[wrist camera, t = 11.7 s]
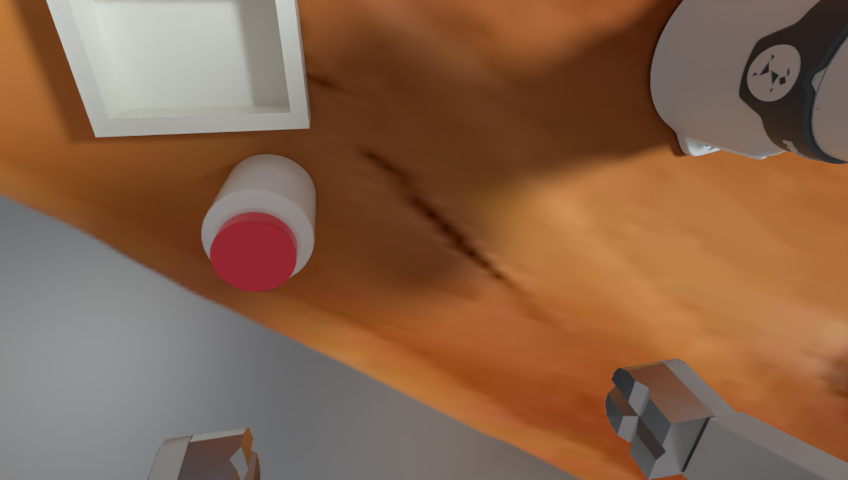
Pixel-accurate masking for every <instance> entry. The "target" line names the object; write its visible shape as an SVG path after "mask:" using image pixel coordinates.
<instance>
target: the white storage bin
mask: <svg viewBox="0 0 848 480" xmlns="http://www.w3.org/2000/svg"><path fill="white" fill-rule="evenodd" d="M46 1H47V4H48V7H49V10H50V12H51V15H52V18H53V21H54V23H55V26H56V29H57V32H58V34H59V37H60V40H61V43H62V46H63V48H64V51H65V54H66V57H67V59H68V62H69V65H70V68H71V70H72V73H73V76H74V79H75V82H76V84H77V87H78V90H79V93H80V95H81V98H82V101H83V104H84V106H85V109H86V112H87V115H88V118H89V120H90V123H91V126H92V129H93V131H94V134H95V137H116V136H140V135H165V134H189V133H213V132H237V131H261V130H286V129H310V122H311V111H310V103H309V94H308V86H307V77H306V69H305V60H304V51H303V43H302V34H301V26H300V17H299V9H298V0H46Z"/></svg>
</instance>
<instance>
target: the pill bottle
mask: <svg viewBox="0 0 848 480" xmlns="http://www.w3.org/2000/svg"><path fill="white" fill-rule="evenodd" d="M315 220H316V190H315V186H314V183H313V181H312V179H311V178H310V176H309V174H308V173H307V172H306V171H305V170H304V169H303V168H302V167H301V166H300V165H299V164H297V163H296V162H294V161H292V160H290V159H289V158H286V157H283V156H280V155H274V154H259V155H255V156H251V157H249V158H246V159H244V160H242V161H241V162H240V163H238V164H237V165H236V166H235V167H234V168H233V169H232V170H231V172H230V173H229V175H228V177H227V179H226V180H225V182H224V184H223V186H222V187H221V189H220V191H219V193H218V194H217V196H216V198H215V200H214V201H213V203H212V205H211V207H210V208H209V210H208V212H207V214H206V216H205V218H204V220H203V224H202V228H201V240H202V244H203V248H204V250H205V252H206V254H207V256H208V258H209V259H210V260H211V264H212V266H213V268H214V270H215V272H216V273H217V275H218V276H219V277H220V278H221V279H222V280H223V281H225V282H226V283H227V284H229V285H231V286H233V287H235V288H238V289H240V290H245V291H251V292H260V291H267V290H271V289H274V288H276V287H278V286H280V285H281V284H283V283H284V282H286V281H287V280H288V279H289V278H290V277H292V276H293V275H295V274H296V273H298V272H299V271H300V270H301V269H302V268H303V267H304V266H305V265H306V263H307V262H308V260H309V259H310V257H311V254H312V251H313V248H314V240H315Z"/></svg>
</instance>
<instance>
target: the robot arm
mask: <svg viewBox="0 0 848 480" xmlns="http://www.w3.org/2000/svg"><path fill="white" fill-rule="evenodd" d="M650 86H651V95H652V99H653V103H654V106H655V108H656V110H657V112H658V114H659V115H660V117H661V118H662V119H663V121H664V122H665V123H666V124H668V125H669V126H670V127H671V128H672V129H673V130H674V131H675V133H676V134H677V138H678V141H679V144H680V147H681V149H682V151H683V153H685V154H687V155H691V156H700V155H704V154H708V153H711V152H715V151H719V150H724V151H728V152H731V153H735V154H738V155H742V156H745V157H749V158H753V159H764V158H765V157H766V156H773V155H777V154H780V153H782V152H785V151H789V152H793V153H795V154H796V155H798V156H801V157H804V158H808V159H811V160H816V161H825V162H828V163H834V164H845V163H848V0H683V1H682V3H681V4H680V5H679V6H678V8H677V9H676V10H675V12H674V13H673V15H672V16H671V18H670V19H669V21H668V23H667V25H666V26H665V28H664V30H663V32H662V34H661V37H660V39H659V41H658V44H657V47H656V50H655V53H654V57H653V62H652V67H651V76H650ZM612 381H613V383H614V384H615V387H614V388H613V389H612V390H611V391H610V392H609V393H608V394H607V398H606V402H605V407H606V413H607V417H608V419H609V422H610V424H611V426H612V427H613V429H614V430H615V432H616V433H617V435H618V436H620V437H622V438H623V439H625V440H627V441H628V442H629V453H630V454H631V455H632V457H633V458H634V460H635V461H636V463H637V464H638V466H639V467H640V469H641V470H642V471H643V473H644V474H645V476H646V477H647V479H648V480H649V479H654V478H660V477H665V476H671V475H677V474H682V473H684V474H683V476H684V477H685V478H687V479H688V480H848V463H846V462H844V461H842V460H840V459H838V458H836V457H834V456H832V455H830V454H828V453H826V452H823V451H821V450H819V449H817V448H815V447H813V446H811V445H809V444H807V443H805V442H803V441H801V440H799V439H797V438H795V437H793V436H791V435H789V434H787V433H784V432H782V431H780V430H778V429H776V428H774V427H772V426H770V425H768V424H766V423H764V422H762V421H760V420H758V419H756V418H754V417H752V416H750V415H748V414H745V413H743V412H739V413H736V412H735V411H734V410H733V409H732V408H731V407H730V406H729V405H728V404H727V403H726V402H725V401H724V400H723V399H722V398H721V397H720V396H719V395H718V394H717V393H716V392H715V391H714V390H713V389H712V388H711V387H710V386H709V385H708V384H707V383H706V382H705V381H704V380H702V379H701V378H700V377H699V376H698V375H697V374H696V373H695V372H694V371H693V370H692V369H691V368H690V367H689V366H688V365H687V364H686V363H685V362H684V361H682V360H680V359H678V358H677V359H670V360H664V361H658V362H649V363H644V364H638V365H632V366H627V367H621V368H618V369H617V370H616V371H615V372H614V374H613V377H612ZM252 441H253V437H252V434H251V431H250V429H249V428H244V429H236V430H229V431H221V432H214V433H206V434H199V435H193V436H186V437H179V438H172V439H166V440H165V441H164V442H163V444H162V445H161V446H160V448H159V450H158V453H157V455H156V458H155V461H154V463H153V466H152V468H151V471H150V474H149V476H148V479H147V480H260V465H259V459H258V455H257V453H256V452H254V451H252V450H251V448H252Z"/></svg>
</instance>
